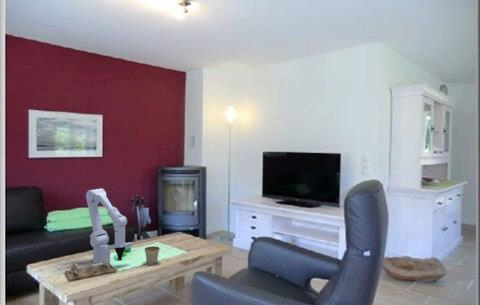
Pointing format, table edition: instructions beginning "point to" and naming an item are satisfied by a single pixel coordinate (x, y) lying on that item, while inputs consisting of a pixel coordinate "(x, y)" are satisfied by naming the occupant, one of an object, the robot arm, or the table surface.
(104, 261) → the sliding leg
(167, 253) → the table surface
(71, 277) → the gauge board
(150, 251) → the flower pot
